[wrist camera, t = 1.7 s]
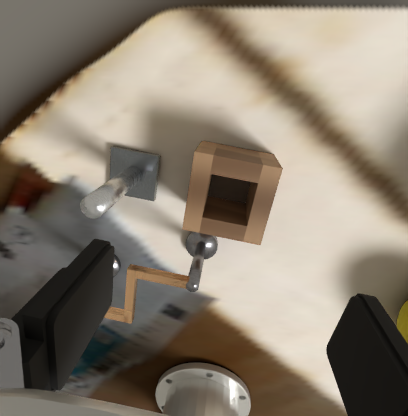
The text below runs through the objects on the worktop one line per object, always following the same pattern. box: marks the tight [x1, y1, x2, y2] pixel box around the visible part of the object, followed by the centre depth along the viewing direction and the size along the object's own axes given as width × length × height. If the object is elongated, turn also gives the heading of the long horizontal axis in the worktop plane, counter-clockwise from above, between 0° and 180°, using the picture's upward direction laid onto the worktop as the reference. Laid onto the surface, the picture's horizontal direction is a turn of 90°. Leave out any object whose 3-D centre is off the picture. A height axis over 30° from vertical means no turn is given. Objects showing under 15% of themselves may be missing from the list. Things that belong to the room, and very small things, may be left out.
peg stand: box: [80, 146, 160, 219], centre depth 22 cm, size 4×4×9 cm
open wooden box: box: [182, 141, 283, 245], centre depth 23 cm, size 6×6×5 cm
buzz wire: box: [104, 232, 218, 323], centre depth 26 cm, size 5×14×7 cm, turn 116°
